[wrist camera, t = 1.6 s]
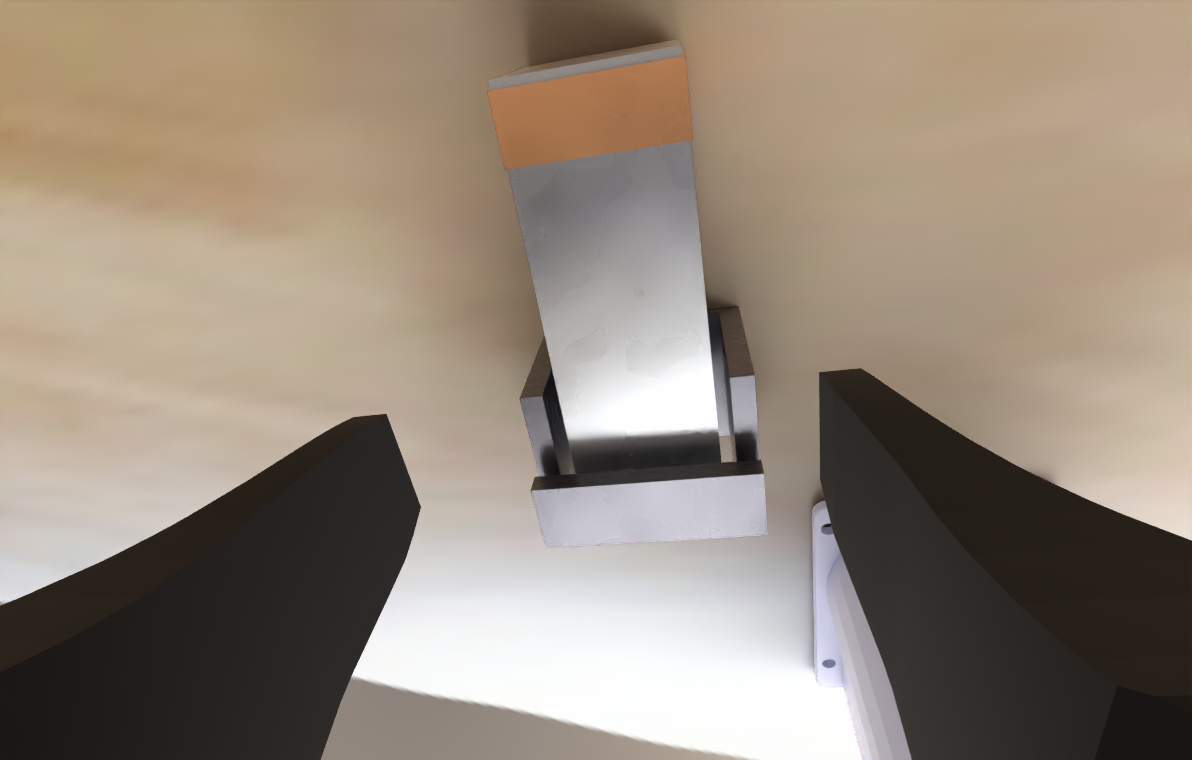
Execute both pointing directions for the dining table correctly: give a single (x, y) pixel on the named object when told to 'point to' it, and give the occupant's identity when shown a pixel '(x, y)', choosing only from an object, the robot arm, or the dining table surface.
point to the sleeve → (653, 495)
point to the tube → (615, 251)
